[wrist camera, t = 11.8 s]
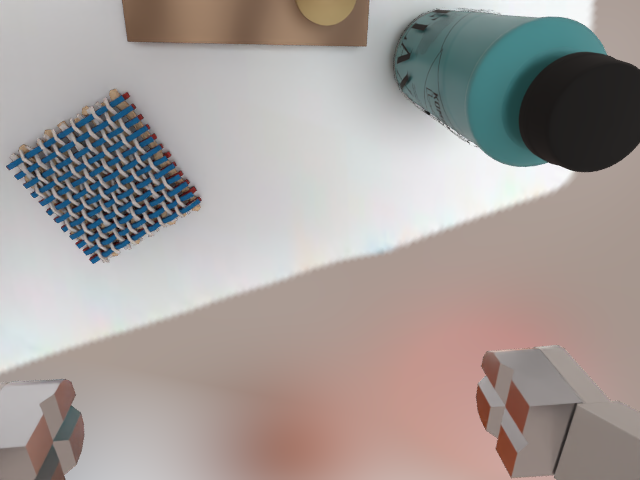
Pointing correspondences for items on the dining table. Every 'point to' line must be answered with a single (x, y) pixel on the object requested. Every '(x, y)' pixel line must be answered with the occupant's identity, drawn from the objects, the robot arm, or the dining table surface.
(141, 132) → the woven mat
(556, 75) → the beverage bottle
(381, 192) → the dining table surface
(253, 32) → the brown wooden box
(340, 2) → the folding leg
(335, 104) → the dining table surface
